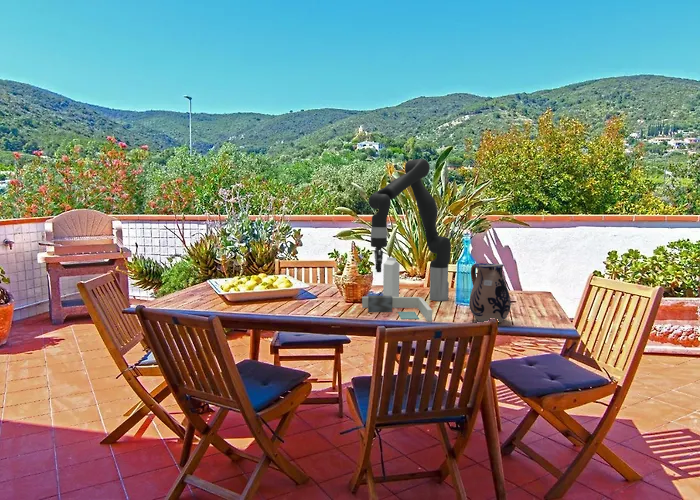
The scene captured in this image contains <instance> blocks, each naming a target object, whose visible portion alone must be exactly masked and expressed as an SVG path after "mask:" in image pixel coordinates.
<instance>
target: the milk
mask: <svg viewBox="0 0 700 500" xmlns="http://www.w3.org/2000/svg"><path fill="white" fill-rule="evenodd" d="M400 265H401V264H400V262H398V261H397V257H386V261H384V263H383V275H382V276H383V277H382V278H383V281H382V284H383V286H382V287H383V288H382V293H383V294H382V296H392V297H400Z"/></svg>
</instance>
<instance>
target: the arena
mask: <svg viewBox="0 0 700 500" xmlns="http://www.w3.org/2000/svg"><path fill="white" fill-rule="evenodd" d="M361 297H362V299H361V300H362V301H361V304H362V305H361V306H362V308H363V309H366V308H367V309H368V296H361ZM401 308H402V309H414V308H415V309H418V311H420V313H421V314H422V316H423V317H424V320H426V322H433V309H432V308H431V306H430V305H429V304H428V303H427V301H425V299H424V298H423V297H420V296H399V297H392V309H401Z"/></svg>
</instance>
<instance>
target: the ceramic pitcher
mask: <svg viewBox="0 0 700 500" xmlns="http://www.w3.org/2000/svg"><path fill="white" fill-rule="evenodd" d="M503 268H504V264H501V263H500V264H499V263H483V262H475V263H473V264H472V265H471V268H470V277H471V282H472V289H471V292H470V295H469V303H468V304H469V310H470V312H471V314H472V315H473V317H474V318H475V320H477V321H478V322H480V323H483V322H484V321H488V320H489V319H490V318H495V319H498V321H499V323H498V324H500V323H502V322H504V321H505V320H506V319H507V318H508V316H509V314H510V312H511V308H512V307H511V306H512V304H511V303H512V302H511V301H512V300H511V295H510V293H509V290H508V287H507V282H506V280H505V277H504V274H503ZM476 270H477V273H476Z"/></svg>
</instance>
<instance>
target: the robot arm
mask: <svg viewBox="0 0 700 500" xmlns="http://www.w3.org/2000/svg"><path fill="white" fill-rule="evenodd" d="M404 170H405V171H404V172H405V173H404V174H402V175H401V176H399V177H397V178H395V179H393V180H392V181H390V182H389V183H388V184H387V185H386V186H384V188H380V189H379V190H377V191H375V192H374V193H373V194H371V195H370V197H369V199H368V206H369V207H370V208H371V209H373V210H374V209H375V210H377V213H375V214H373V215H372V216H371V228H370V229H371V230H370V247H371V248H374V250H373V251H374V252H373V253H374V261H375V270H376V273H382V263H383V257H384V256H383V255H384V250H382V249H383V248H386V247H387V246H388V230H387V227H388V226H387V225H388V224H387V222H388V220H387V219H388V215H389V211H390V208H391V205H392V204H391V203H392V202H391V201H392V200H394V199H396V198H397V197H398V196H399V195H400V194H401V193H403V192H404V191H405V190H406V189H408V188H409V187H410V188H411V191H412V193H413V196H414V200H415V201H416V206H417V209H418V213H419V216H420V218H421V223H422V225H423V230H424V234H425V239H426V245H427V248H428V251H430V252H431V254H436V256H435V259H433V260H431V262H430V265H429V266H430V271H429V272H430V273H429V274H430V275H429V276H430V277H429V300H431V301H435V302H438V301H439V302H444V301H449V292H450V291H449V288H450V287H449V286H450V283H449V264H450V262H451V252H452V251H451V250H452V243H451V240H450V238H449V237H448V236H441V235H439V234H438V230H437V219H438V214H439V211H438V206H437V203H436V200H435V198H434V197H433V195H432V194H431V192H430V191H428V189H427V188H426V187H425V186H424V184H423V183H422V179H423V178H424V177H425V178H426V176H428V175H429V172H430V163H429V162H428V160H426V159H424V158H417V159H409V160H408V161H406V162H405V164H404Z"/></svg>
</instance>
